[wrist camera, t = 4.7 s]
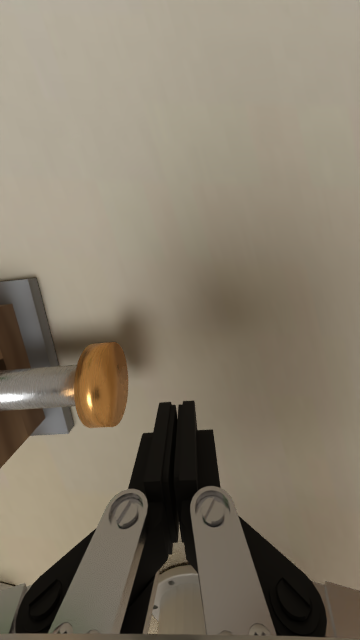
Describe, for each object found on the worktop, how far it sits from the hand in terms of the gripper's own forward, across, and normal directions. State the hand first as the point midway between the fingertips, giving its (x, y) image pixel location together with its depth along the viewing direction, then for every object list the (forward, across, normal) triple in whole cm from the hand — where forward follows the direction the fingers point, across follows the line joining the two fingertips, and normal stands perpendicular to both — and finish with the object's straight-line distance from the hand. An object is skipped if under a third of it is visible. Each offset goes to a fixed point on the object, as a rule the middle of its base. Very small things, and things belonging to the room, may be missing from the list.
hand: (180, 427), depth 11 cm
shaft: (+9, +15, +1) cm, 18 cm away
